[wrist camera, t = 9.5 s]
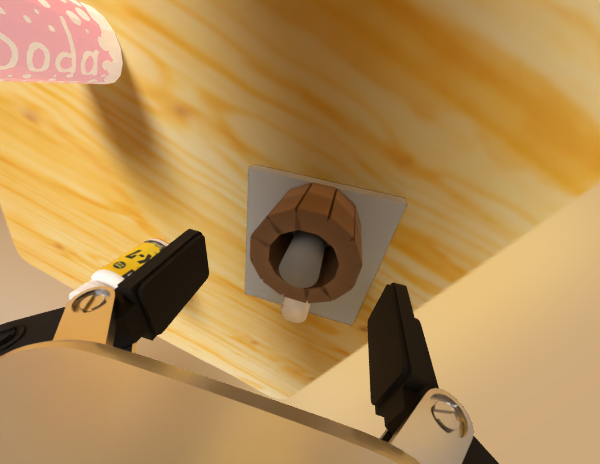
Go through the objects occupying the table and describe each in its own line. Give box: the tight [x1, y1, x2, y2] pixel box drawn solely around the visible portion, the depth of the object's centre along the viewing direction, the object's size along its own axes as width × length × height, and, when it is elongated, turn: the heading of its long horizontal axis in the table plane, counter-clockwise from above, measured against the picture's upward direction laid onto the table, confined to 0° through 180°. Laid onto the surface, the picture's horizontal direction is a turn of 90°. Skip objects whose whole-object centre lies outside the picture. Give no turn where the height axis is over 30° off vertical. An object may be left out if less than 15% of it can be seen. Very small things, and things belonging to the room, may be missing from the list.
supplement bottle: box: [69, 239, 169, 300], centre depth 22 cm, size 5×5×8 cm
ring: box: [250, 182, 362, 304], centre depth 16 cm, size 7×7×5 cm
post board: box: [245, 165, 407, 326], centre depth 17 cm, size 14×12×7 cm
